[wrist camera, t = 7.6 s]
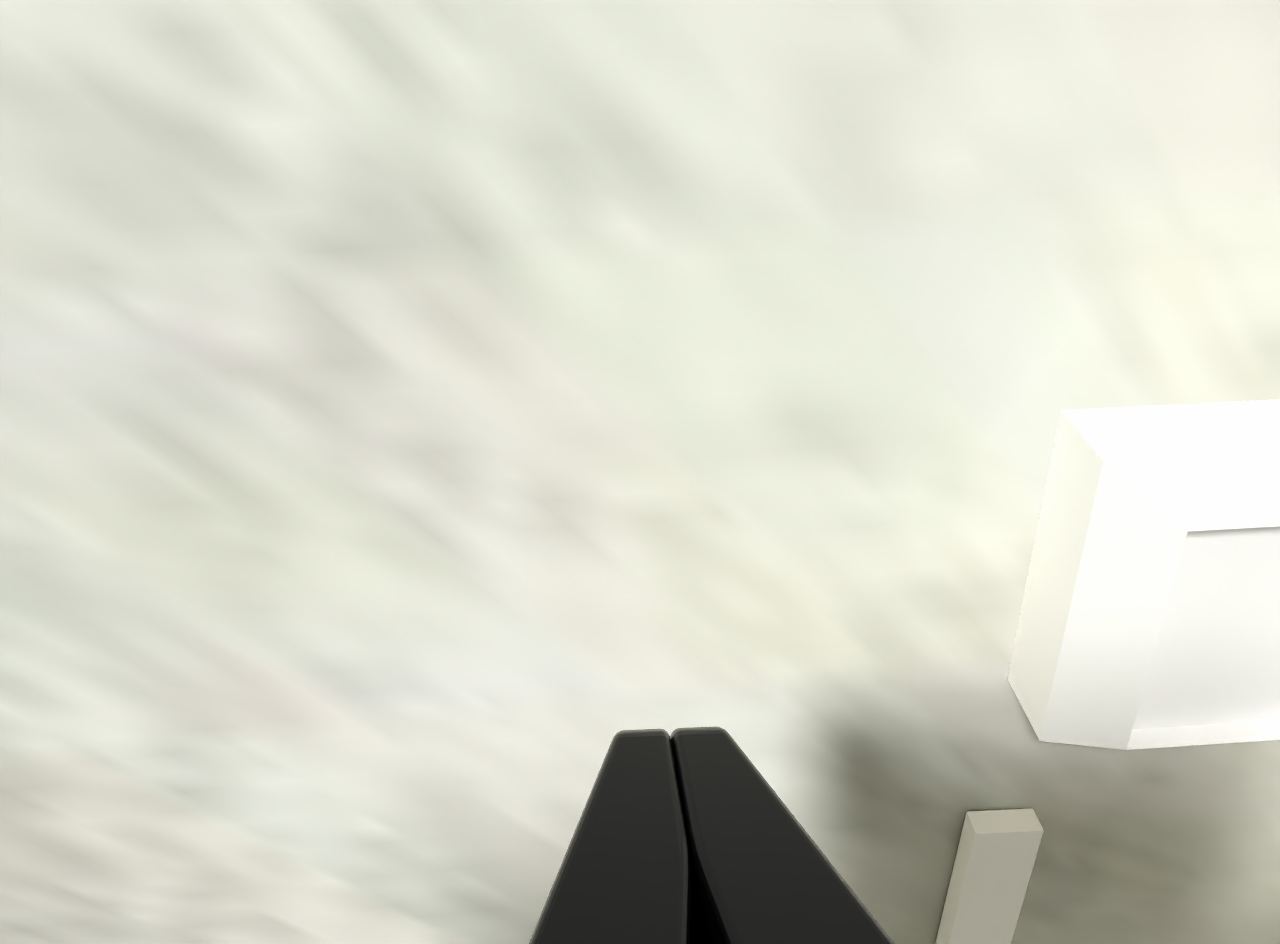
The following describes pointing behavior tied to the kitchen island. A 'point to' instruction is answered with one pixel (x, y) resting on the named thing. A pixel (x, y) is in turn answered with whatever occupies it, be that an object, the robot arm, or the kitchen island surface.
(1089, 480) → the soap bar
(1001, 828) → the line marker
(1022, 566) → the kitchen island surface
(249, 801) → the kitchen island surface
